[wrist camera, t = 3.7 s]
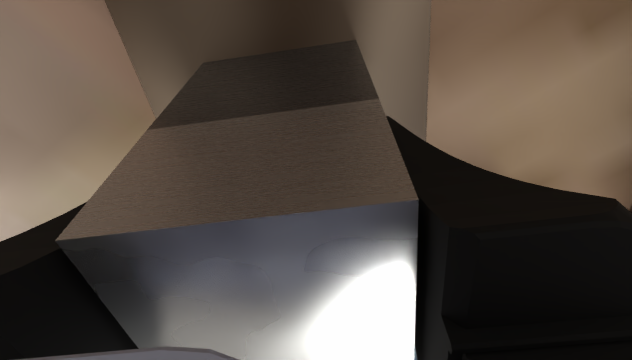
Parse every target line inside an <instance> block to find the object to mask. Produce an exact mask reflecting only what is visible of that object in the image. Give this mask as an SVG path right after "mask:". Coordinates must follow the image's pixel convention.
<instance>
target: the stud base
mask: <svg viewBox="0 0 632 360" xmlns="http://www.w3.org/2000/svg"><path fill="white" fill-rule="evenodd" d="M105 2H106V5H107V7H108V9H109V12H110V14H111V16H112V19H113V21H114V23H115V26H116V28H117V30H118V32H119V35H120V37H121V39H122V42H123V44H124V46H125V49H126V51H127V53H128V55H129V58H130V60H131V62H132V65H133V67H134V69H135V72H136V74H137V76H138V78H139V81H140V83H141V85H142V88H143V90H144V92H145V95H146V97H147V99H148V101H149V104H150V106H151V108H152V111H153V113H154V115H155V118H156V119H157V118H158V116H159V115H160V114H161V113H162V112H163V110H164V109H165V108H166V107H167V106H168V104H169V103H170V102H171V101H172V100H173V98H174V97H175V96H176V95H177V93H178V92H179V91H180V90H181V89H182V87H183V86H184V85H185V84H186V83H187V81H188V80H189V79H190V78H191V77H192V75H193V74H194V73H195V72H196V71H197V69H198V68H199V67H200V66H201V65H202V63H204V62H210V61H217V60H224V59H230V58H237V57H244V56H251V55H257V54H264V53H271V52H278V51H284V50H291V49H298V48H304V47H311V46H318V45H325V44H331V43H338V42H345V41H352V40H356V41H357V43H358V46H359V48H360V51H361V53H362V56H363V59H364V61H365V64H366V66H367V69H368V71H369V74H370V76H371V79H372V82H373V84H374V87H375V89H376V92H377V94H378V97H379V99H380V102H381V105H382V107H383V110H384V112H385V115H386V116H389V117H391V118H392V119H394V120H395V121H396V122H398V123H399V124H401V125H402V126H403V127H405V128H406V129H407V130H409V131H410V132H412V133H413V134H415V135H416V136H418V137H419V138H421V139H422V140H424V141H426V125H427V99H428V73H429V48H430V22H431V0H105Z"/></svg>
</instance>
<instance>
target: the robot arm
mask: <svg viewBox="0 0 632 360" xmlns="http://www.w3.org/2000/svg"><path fill="white" fill-rule="evenodd" d="M386 117H387V120H388V122H389V125H390V128H391V130H392V133H393V135H394V138H395V140H396V143H397V145H398V148H399V151H400V153H401V156H402V158H403V161H404V163H405V166H406V168H407V171H408V174H409V176H410V179H411V181H412V184H413V186H414V189H415V191H416V194H417V197H418V199H419V206H418V240H417V275H416V310H415V350H416V355H417V360H632V213H631V212H630V211H628V210H627V209H626V208H625V207H624V206H623V205H622V204H621V203H619V202H618V201H617V200H616V199H613V198H607V197H601V196H595V195H588V194H582V193H576V192H569V191H563V190H558V189H553V188H549V187H544V186H540V185H535V184H531V183H527V182H523V181H519V180H516V179H512V178H508V177H505V176H502V175H499V174H496V173H493V172H490V171H487V170H484V169H481V168H479V167H476V166H473V165H471V164H469V163H466V162H464V161H462V160H459V159H457V158H455V157H453V156H451V155H449V154H447V153H445V152H443V151H441V150H439V149H438V148H436V147H434V146H432V145H430V144H429V143H427V142H426V141H424V140H422V139H421V138H419V137H418V136H416V135H415V134H413V133H412V132H410V131H409V130H407V129H406V128H405V127H403V126H402V125H401V124H399V123H398V122H396V121H395V120H394V119H392V118H391V117H389V116H386ZM87 202H88V201H87ZM87 202H86V203H87ZM86 203H84V204H82V205H80V206H78V207H76V208H74V209H72V210H70V211H69V212H67V213H65V214H63V215H61V216H59V217H56V218H54V219H52V220H50V221H48V222H45V223H43V224H41V225H39V226H36V227H34V228H32V229H30V230H28V231H25V232H23V233H21V234H18V235H16V236H14V237H11V238H9V239H6V240H4V241H1V242H0V360H239V359H236V358H234V357H231V356H228V355H225V354H222V353H220V352H217V351H214V350H211V349H203V348H186V347H170V346H166V347H154V348H143V349H139V348H138V347H137V346H136V344H135V343H134V342H133V341H132V339H131V338H130V337H129V335H128V334H127V333H126V332H125V330H124V329H123V328H122V326H121V325H120V324H119V323H118V321H117V320H116V319H115V317H114V316H113V315H112V313H111V312H110V311H109V310H108V308H107V307H106V306H105V304H104V303H103V302H102V301H101V299H100V298H99V297H98V295H97V294H96V293H95V292H94V290H93V289H92V288H91V286H90V285H89V284H88V283H87V281H86V280H85V279H84V277H83V276H82V275H81V274H80V272H79V271H78V270H77V268H76V267H75V266H74V265H73V263H72V262H71V261H70V259H69V258H68V257H67V256H66V254H65V253H64V252H63V250H62V249H61V248H60V247H59V245H58V244H57V243H56V241H55V240H56V239H57V238H58V237H59V235H60V234H61V233H62V232H63V231H64V229H65V228H66V227H67V226H68V225H69V223H70V222H71V221H72V220H73V219H74V217H75V216H76V215H77V214H78V213H79V211H80V210H81V209H82V208H83V207H84V205H85V204H86Z"/></svg>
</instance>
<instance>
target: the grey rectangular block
mask: <svg viewBox="0 0 632 360" xmlns="http://www.w3.org/2000/svg"><path fill="white" fill-rule="evenodd" d="M418 206H419V199H418V197H417V194H416V191H415V189H414V186H413V184H412V181H411V179H410V176H409V174H408V171H407V168H406V166H405V163H404V161H403V158H402V156H401V153H400V151H399V148H398V145H397V143H396V140H395V138H394V135H393V133H392V130H391V128H390V125H389V122H388V120H387V117H386V115H385V112H384V110H383V107H382V105H381V102H380V99H379V97H378V94H377V92H376V89H375V87H374V84H373V82H372V79H371V76H370V74H369V71H368V69H367V66H366V64H365V61H364V59H363V56H362V53H361V51H360V48H359V46H358V43H357V41H356V40H352V41H345V42H338V43H331V44H325V45H318V46H311V47H304V48H298V49H291V50H284V51H278V52H271V53H264V54H257V55H251V56H244V57H237V58H230V59H224V60H217V61H210V62H204V63H202V65H201V66H200V67H199V68H198V69H197V71H196V72H195V73H194V74H193V75H192V77H191V78H190V79H189V80H188V81H187V83H186V84H185V85H184V86H183V87H182V89H181V90H180V91H179V92H178V93H177V95H176V96H175V97H174V98H173V100H172V101H171V102H170V103H169V104H168V106H167V107H166V108H165V109H164V110H163V112H162V113H161V114H160V115H159V116H158V118H157V119H156V120H155V121H154V122H153V124H152V125H151V126H150V127H149V128H148V130H147V131H146V132H145V133H144V134H143V136H142V137H141V138H140V139H139V140H138V142H137V143H136V144H135V145H134V146H133V148H132V149H131V150H130V151H129V152H128V154H127V155H126V156H125V157H124V158H123V160H122V161H121V162H120V163H119V164H118V166H117V167H116V168H115V169H114V170H113V172H112V173H111V174H110V175H109V177H108V178H107V179H106V180H105V181H104V183H103V184H102V185H101V186H100V187H99V189H98V190H97V191H96V192H95V193H94V195H93V196H92V197H91V198H90V199H89V201H88V202H87V203H86V204H85V205H84V207H83V208H82V209H81V210H80V211H79V213H78V214H77V215H76V216H75V217H74V219H73V220H72V221H71V222H70V223H69V225H68V226H67V227H66V228H65V229H64V231H63V232H62V233H61V234H60V235H59V237H58V238H57V239H56V240H55V241H56V243H57V244H58V245H59V247H60V248H61V249H62V250H63V252H64V253H65V254H66V256H67V257H68V258H69V259H70V261H71V262H72V263H73V265H74V266H75V267H76V268H77V270H78V271H79V272H80V274H81V275H82V276H83V277H84V279H85V280H86V281H87V283H88V284H89V285H90V286H91V288H92V289H93V290H94V292H95V293H96V294H97V295H98V297H99V298H100V299H101V301H102V302H103V303H104V304H105V306H106V307H107V308H108V310H109V311H110V312H111V313H112V315H113V316H114V317H115V319H116V320H117V321H118V323H119V324H120V325H121V326H122V328H123V329H124V330H125V332H126V333H127V334H128V335H129V337H130V338H131V339H132V341H133V342H134V343H135V344H136V346H137V347H138V348H139V349H143V348H154V347H166V346H170V347H186V348H203V349H211V350H214V351H217V352H220V353H222V354H225V355H228V356H231V357H234V358H236V359H239V360H414V345H415V310H416V275H417V240H418Z"/></svg>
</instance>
